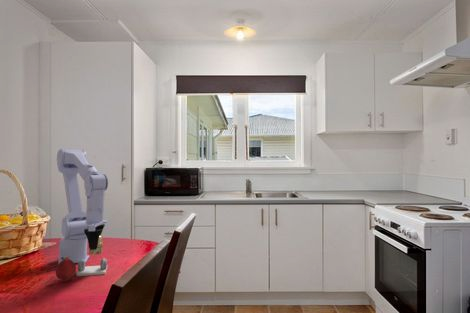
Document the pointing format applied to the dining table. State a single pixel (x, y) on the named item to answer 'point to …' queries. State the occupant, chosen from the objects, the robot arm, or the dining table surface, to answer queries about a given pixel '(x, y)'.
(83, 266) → the fitting
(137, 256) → the dining table surface
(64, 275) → the onion
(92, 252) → the cylinder
